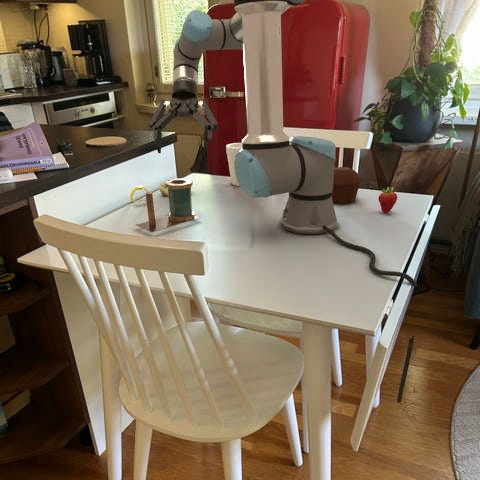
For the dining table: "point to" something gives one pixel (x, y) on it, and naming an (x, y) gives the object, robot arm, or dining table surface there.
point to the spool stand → (156, 223)
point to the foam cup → (231, 152)
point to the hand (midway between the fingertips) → (182, 150)
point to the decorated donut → (164, 190)
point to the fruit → (387, 199)
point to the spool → (180, 199)
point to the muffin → (345, 185)
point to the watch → (135, 190)
